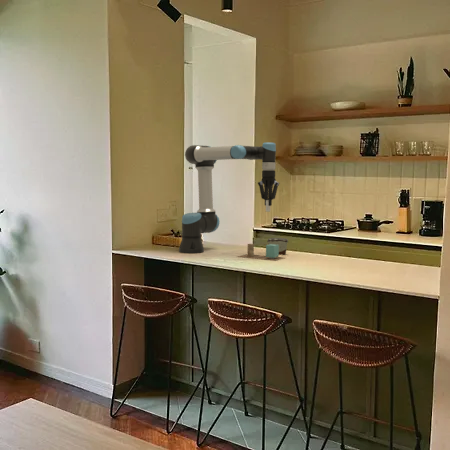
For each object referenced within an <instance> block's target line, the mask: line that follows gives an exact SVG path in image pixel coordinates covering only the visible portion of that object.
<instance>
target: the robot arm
mask: <svg viewBox="0 0 450 450" xmlns="http://www.w3.org/2000/svg"><path fill="white" fill-rule="evenodd" d="M276 146H277V145H276V142H263V143H262V145H261V146H260V145H259V146H254V145H239V144H236V145H224V146H210V145H199V144H198V145H197V144H193V145H189V146H188V147H187V148H186V150H185V152H184V156H185V159H186V161H187V162H188V164H189V163H190V164H191V165H194V168H195V169H196V170H197V178H198V179H197V183H198V185H197V186H198V210H197V211H196V212H189V213H188V212H187V213H185V214H183V215H182V217H181V242H180V244H179V247H178V252H179V253H184V254H200V253H204V252H205V247H204V244H203V241H202V234H206V233H207V234H210V233H214V232H215V231H216V230H218V228H219V226H220V218H219V217H218V215H217V214H216V209H214V205H213V204H214V203H213V200H214V199H213V169H214V168H215V164H216V163H217V161H221V160H224V161H225V160H248V161H253V160H254V161H255V160H256V161H257V160H262V162H261V163H262V164H261V167H262V168H261V169H262V170H261V177H262V178H261V180H260V181H258V182H257V185H258V186H259V191H260V197H261V200H264V206H265V212H270V213H271V207H272V203H273V200H275V199H276V195H277V191H278V187H279V185H280V182H278V181H277V180H276V153H277V149H276V148H277V147H276Z"/></svg>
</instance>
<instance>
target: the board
mask: <svg viewBox="0 0 450 450" xmlns="http://www.w3.org/2000/svg"><path fill="white" fill-rule="evenodd" d="M236 258H242V259H243V258H244V259H252V260H262V261H272V262H276V261H281V260H284V259H286V257H282V256H278V257H275V259H269V257H266V255H263V254H254V256H252V257H250V256H247V254H242V255H239V256H236Z"/></svg>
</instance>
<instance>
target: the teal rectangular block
mask: <svg viewBox="0 0 450 450" xmlns="http://www.w3.org/2000/svg"><path fill="white" fill-rule="evenodd" d="M265 256H266V257H272V258H275V257H280V256H279V245H275V244H266V245H265Z"/></svg>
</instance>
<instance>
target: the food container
mask: <svg viewBox="0 0 450 450" xmlns="http://www.w3.org/2000/svg"><path fill="white" fill-rule="evenodd" d="M267 243H268V244H267V245H269V244H275V245H279V255H280V256H281V255H282V256H283V255H285V256H286V254H287V248H288V247H287V246H288V243H289V239H288V238H286V237H285V238H284V237H283V238H282V237H271V238H267Z"/></svg>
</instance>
